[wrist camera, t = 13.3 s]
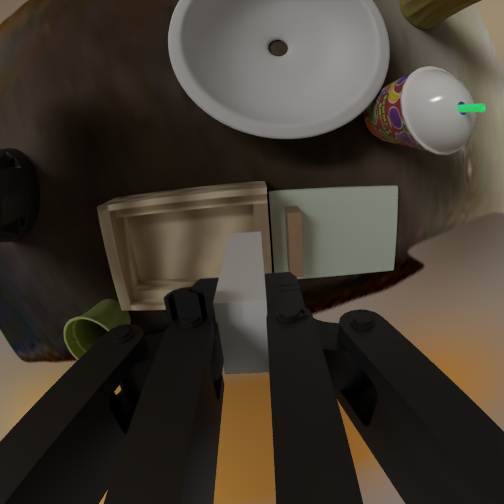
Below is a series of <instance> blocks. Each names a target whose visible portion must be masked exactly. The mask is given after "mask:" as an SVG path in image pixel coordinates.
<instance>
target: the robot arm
mask: <svg viewBox="0 0 504 504" xmlns="http://www.w3.org/2000/svg"><path fill="white" fill-rule="evenodd" d="M38 209H39V187H38V181H37V177H36V174H35V171H34V169H33V167H32V165H31V163H30V162H29V160H28V159H27V157H26V156H25V155H24V154H23V153H21V152H20V151H18V150H16V149H12V148H7V149H1V150H0V242H11V241H14V240H17V239H18V238H20V237H22V236H24V235H25V234H27V233H28V232H29V231H30V230H31V228H32V227H33V225H34V223H35V220H36V218H37V214H38ZM163 299H164V303H165V307H166V312H167V316H168V320H169V324H168V326H167V329H166V331H163V332H160V333H156V334H151V335H146V336H144V333H143V330H142V329H141V328H140V327H139V326H137V325H134V324H123V325H119V326H117V327H114V328H112V329H110V330H109V331H108V332H106V333H105V334H104V335H103V336H102V337H101V338H100V339H99V340H98V341H97V342H96V343H95V344H94V345H93V346H92V347H91V348H90V349H89V350H88V351H87V352H86V353H85V354H84V355H83V356H82V357H81V358H80V359H79V360H78V361H77V362H76V363H75V364H74V365H73V366H72V367H71V368H70V369H69V370H68V371H67V372H66V373H65V374H64V375H63V376H62V377H61V378H60V379H59V380H58V381H57V382H56V383H55V384H54V385H53V386H52V387H51V388H50V389H49V390H48V391H47V392H46V393H45V394H44V395H43V396H42V397H41V398H40V400H38V402H37V403H36V404H35V405H34V406H33V407H32V408H31V409H30V410H29V411H28V412H27V413H26V414H25V415H24V416H23V418H21V420H20V421H19V422H18V423H17V424H16V425H15V426H14V427H13V428H12V429H11V431H9V433H8V434H7V435H6V436H5V437H4V438H3V439H2V440H1V441H0V504H99V502H100V501H101V499H102V498H103V496H104V494H105V493H106V491H107V490H108V491H107V494H106V498H105V501H104V504H213V501H214V489H215V477H216V467H217V456H218V445H219V434H220V423H221V413H222V403H223V392H224V381H223V376H222V370H223V366H224V371H225V374H236V373H237V374H238V373H259V372H269V374H270V392H271V409H272V427H273V446H274V466H275V485H276V486H275V487H276V504H363V501H362V497H361V493H360V488H359V484H358V480H357V476H356V471H355V467H354V463H353V459H352V456H351V452H350V447H349V444H348V440H347V436H346V432H345V428H344V424H343V420H342V417H341V413H340V409H339V406H338V402H337V399H338V401H339V403H340V404H341V406H342V407H343V409H344V410H345V412H346V414H347V415H348V417H349V418H350V420H351V421H352V423H353V424H354V426H355V427H356V429H357V431H358V432H359V434H360V435H361V437H362V438H363V440H364V441H365V443H366V444H367V446H368V447H369V449H370V450H371V452H372V453H373V455H374V457H375V458H376V460H377V461H378V463H379V464H380V466H381V467H382V469H383V470H384V472H385V473H386V475H387V476H388V478H389V479H390V481H391V482H392V484H393V486H394V487H395V488H396V490H397V492H398V493H399V495H400V496H401V498H402V499H403V501H404V502H405V504H504V432H503V430H502V429H501V428H500V427H499V426H498V425H497V424H496V423H495V422H494V421H493V420H492V419H491V418H490V417H489V416H488V415H487V414H485V412H484V411H483V410H482V409H481V408H479V406H478V405H476V404H475V403H474V402H473V401H472V400H471V399H470V398H469V397H468V396H467V395H466V394H465V393H464V392H463V391H462V390H461V389H460V388H459V387H458V386H457V385H456V384H455V383H454V382H453V381H452V380H451V379H449V378H448V377H447V376H446V375H445V374H444V373H443V372H442V371H441V370H440V369H439V368H438V367H437V366H436V365H435V364H434V363H432V362H431V361H430V360H429V359H428V358H427V357H426V356H425V355H424V354H423V353H422V352H421V351H419V350H418V349H417V348H416V347H415V346H414V345H413V344H412V343H411V342H410V341H409V340H407V339H406V338H405V337H404V336H403V335H402V334H401V333H400V332H399V331H397V330H396V329H395V328H394V327H393V326H392V325H391V324H390V323H389V322H388V321H386V320H385V319H384V318H383V317H382V316H380V315H379V314H377V313H375V312H372V311H369V310H353V311H350V312H347V313H345V314H344V315H343V316H341V317H340V321H339V323H329V322H323V321H319V320H316V319H314V318H313V316H312V313H311V312H310V310H309V309H307V308H306V307H305V304H304V301H303V297H302V294H301V290H300V287H299V284H298V280H297V277H296V276H295V275H293V274H292V273H291V272H280V273H266V274H264V263H263V251H262V239H261V231H259V232H245V233H232V234H229V237H228V241H227V245H226V250H225V254H224V258H223V262H222V267H221V271H220V275H219V278H205V279H199V280H198V281H197V282H196V283H194V284H193V286H192V287H183V288H179V289H176V290H173V291H171V292H170V293H168V294H167V295H166V296H165V297H164V298H163ZM119 385H120V387H121V389H122V390H121V391H120V392H119V393H118V394H117V395H116V394H115V393H114V391H115V390H116V388H117V387H118V386H119Z"/></svg>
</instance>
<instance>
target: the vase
mask: <svg viewBox="0 0 504 504" xmlns="http://www.w3.org/2000/svg"><path fill="white" fill-rule="evenodd" d="M479 1H481V0H401V3H400V4H401V10H402V12H403V14H404V16H405V17H406V19H407V20H408V21H409V22H411V23H412V24H413V25H415V26H416V27H418V28H421V29H431V28H433V27H434V26H435V25H437V24H439V23H440V22H442V21H444V20H445V19H447V18H448V17H450V16H452V15H453V14H455V13H457V12H459V11H461V10H462V9H464V8H466V7H468V6H470V5H472V4H474V3H477V2H479Z"/></svg>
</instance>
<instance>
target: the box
mask: <svg viewBox="0 0 504 504" xmlns="http://www.w3.org/2000/svg"><path fill="white" fill-rule="evenodd" d="M97 211H98V217H99V222H100V227H101V231H102V236H103V241H104V245H105V250H106V254H107V258H108V262H109V266H110V270H111V274H112V278H113V282H114V285H115V289H116V293H117V296H118V300H119V303H120V307H121V310H122V311H128V310H166V307H165V303H164V299H163V298H164V297H165V296H166V295H167V294H168V293H170V292H171V291H173V290H176V289H179V288H183V287H192V286H193V284H194V283H196V282H197V281H198V280H199V279H205V278H219V275H220V271H221V267H222V262H223V258H224V254H225V250H226V245H227V241H228V237H229V234H232V233H245V232H259V231H261V239H262V251H263V263H264V274H266V273H272V263H271V247H270V232H269V218H268V204H267V187H266V183H265V181H256V182H244V183H232V184H221V185H211V186H202V187H192V188H184V189H175V190H167V191H159V192H152V193H145V194H137V195H131V196H124V197H117V198H114V199H112V200H110V201H108V202H106V203H104V204H102V205H100V206H98V207H97Z"/></svg>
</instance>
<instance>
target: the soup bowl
mask: <svg viewBox="0 0 504 504" xmlns="http://www.w3.org/2000/svg"><path fill="white" fill-rule="evenodd" d="M274 40H281V41H283V42H285V43H286V44H287V46H288V51H287V53H286V54H285V55H284V56H281V57H277V56H274V55H272V54H271V53H270V52H269V49H268V46H269V44H270V43H271V42H272V41H274ZM168 48H169V55H170V60H171V64H172V67H173V70H174V72H175V75H176V77H177V79H178V81H179V82H180V84H181V86H182V88H183V89H184V90H185V92H186V93H187V94H188V96H189V97H190V98H191V99H192V100H193V101H194V102H195V103H196V104H197V105H198V106H199V107H200V108H201V109H202V110H203V111H205V112H206V113H207V114H209V115H210V116H212V117H213V118H214V119H216V120H218V121H220V122H221V123H223V124H225V125H227V126H229V127H231V128H233V129H236V130H239V131H241V132H244V133H248V134H251V135H255V136H260V137H265V138H273V139H300V138H307V137H313V136H317V135H321V134H324V133H327V132H330V131H333V130H335V129H337V128H339V127H341V126H343V125H345V124H347V123H348V122H350V121H352V120H353V119H354V118H356V117H357V116H358V115H360V114H361V113H362V112H363V111H364V110H365V109H366V108H367V107H368V106H369V105H370V104H371V103H372V101H373V100H374V99H375V97H376V96H377V94H378V93H379V91H380V89H381V87H382V85H383V83H384V80H385V78H386V75H387V71H388V67H389V60H390V44H389V37H388V32H387V29H386V25H385V22H384V20H383V18H382V15H381V13H380V11H379V10H378V8H377V6H376V4H375V3H374V2H373V0H179V2H178V4H177V6H176V8H175V10H174V13H173V15H172V18H171V22H170V27H169V33H168Z"/></svg>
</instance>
